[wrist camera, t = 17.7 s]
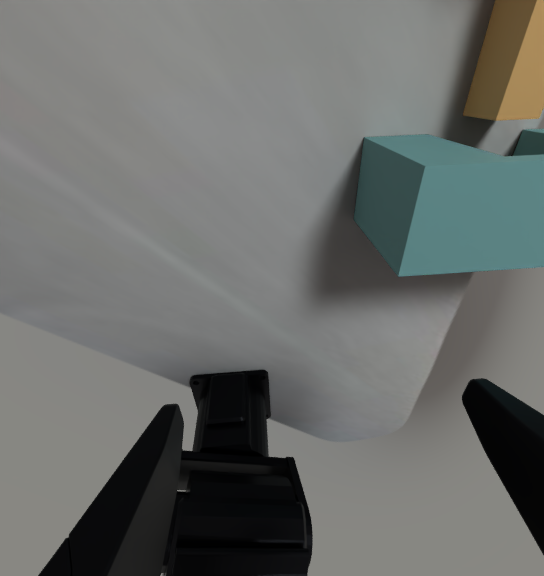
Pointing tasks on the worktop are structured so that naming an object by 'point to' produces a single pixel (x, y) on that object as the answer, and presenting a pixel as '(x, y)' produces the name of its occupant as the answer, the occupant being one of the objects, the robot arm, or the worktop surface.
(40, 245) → the worktop surface
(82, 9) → the worktop surface
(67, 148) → the worktop surface
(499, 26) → the plug
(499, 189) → the housing
